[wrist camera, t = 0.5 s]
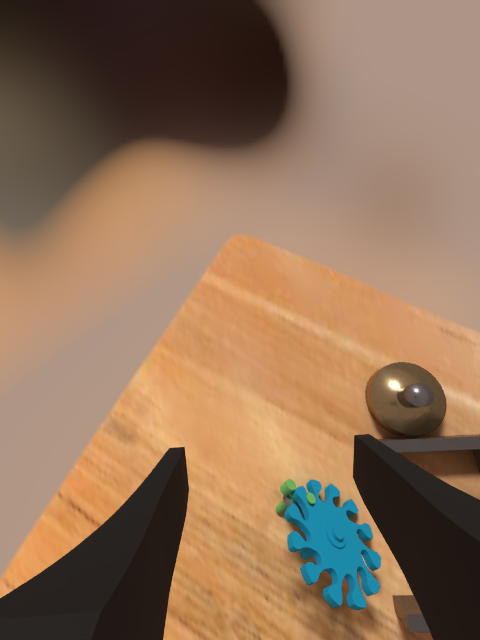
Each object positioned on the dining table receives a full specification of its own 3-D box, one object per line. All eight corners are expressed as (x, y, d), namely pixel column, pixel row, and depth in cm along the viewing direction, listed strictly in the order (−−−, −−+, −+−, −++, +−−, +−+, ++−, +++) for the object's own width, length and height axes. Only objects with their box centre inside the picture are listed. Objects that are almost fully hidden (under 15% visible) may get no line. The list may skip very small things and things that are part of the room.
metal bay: (534, 610, 27) (565, 631, 24) (395, 611, 28) (410, 632, 25) (479, 434, 32) (500, 435, 30) (364, 439, 33) (373, 440, 30)
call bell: (444, 433, 33) (474, 434, 28) (372, 436, 33) (390, 438, 29) (426, 363, 36) (450, 354, 31) (359, 367, 36) (373, 358, 31)
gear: (398, 548, 28) (363, 646, 21) (360, 566, 31) (317, 658, 24) (316, 451, 33) (264, 503, 26) (290, 475, 36) (236, 528, 29)
